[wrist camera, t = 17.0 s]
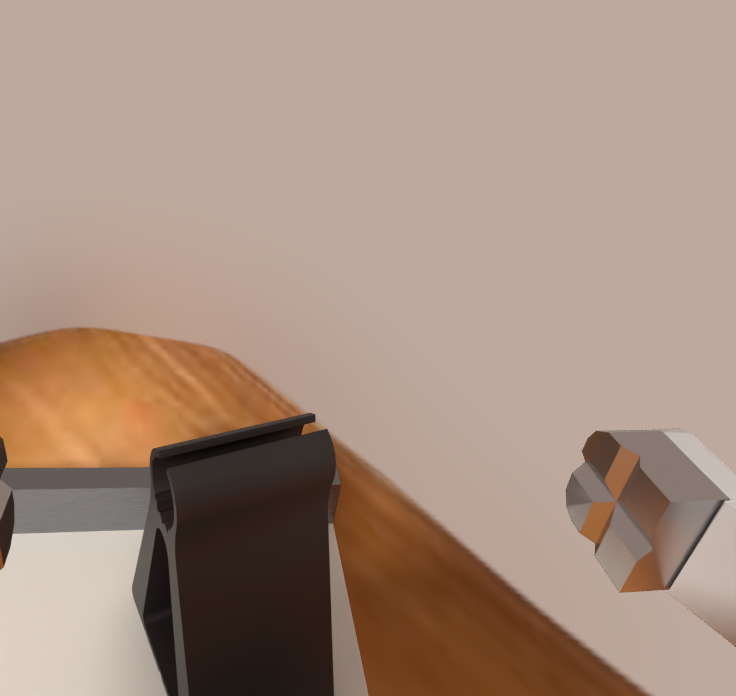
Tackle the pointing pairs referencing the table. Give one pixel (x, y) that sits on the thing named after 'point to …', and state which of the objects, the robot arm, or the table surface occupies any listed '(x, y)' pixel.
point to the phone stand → (240, 563)
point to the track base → (108, 619)
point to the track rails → (89, 499)
